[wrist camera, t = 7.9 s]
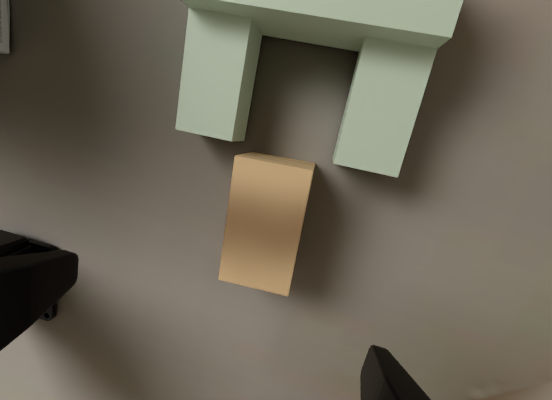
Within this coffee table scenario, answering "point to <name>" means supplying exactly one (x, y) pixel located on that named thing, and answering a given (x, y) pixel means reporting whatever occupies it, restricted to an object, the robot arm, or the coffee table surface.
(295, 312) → the coffee table surface
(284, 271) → the block
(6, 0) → the tea box
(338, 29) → the slot block
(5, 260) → the robot arm
